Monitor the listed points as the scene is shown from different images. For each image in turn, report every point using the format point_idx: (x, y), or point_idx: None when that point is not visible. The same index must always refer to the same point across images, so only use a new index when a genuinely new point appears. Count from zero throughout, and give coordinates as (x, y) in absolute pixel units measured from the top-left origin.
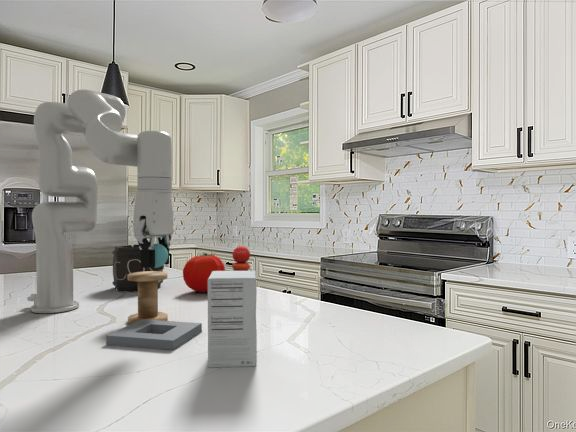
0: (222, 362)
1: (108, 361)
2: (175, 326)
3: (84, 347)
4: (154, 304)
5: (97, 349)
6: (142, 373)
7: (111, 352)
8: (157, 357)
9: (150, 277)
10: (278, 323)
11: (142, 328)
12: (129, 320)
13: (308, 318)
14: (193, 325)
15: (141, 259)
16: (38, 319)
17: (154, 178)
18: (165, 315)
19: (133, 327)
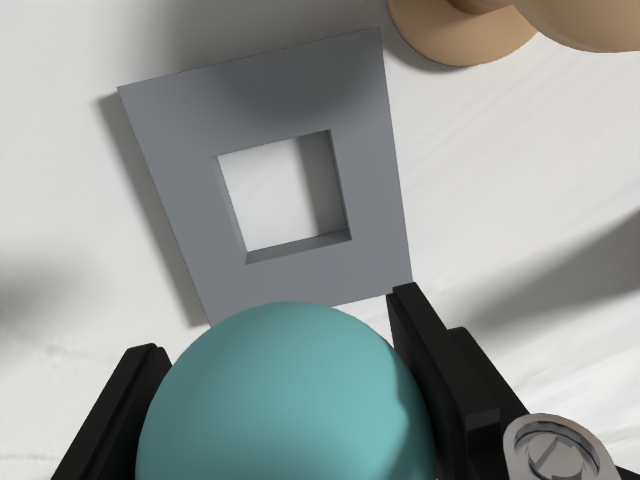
0: None
1: (38, 233)
2: (350, 231)
3: (56, 31)
4: (502, 3)
5: (77, 102)
6: (51, 365)
7: (91, 175)
8: (150, 321)
9: (537, 6)
10: (550, 401)
11: (269, 142)
12: None
13: (616, 435)
14: (378, 282)
15: (102, 402)
16: None
17: None
18: (516, 38)
19: (257, 100)
